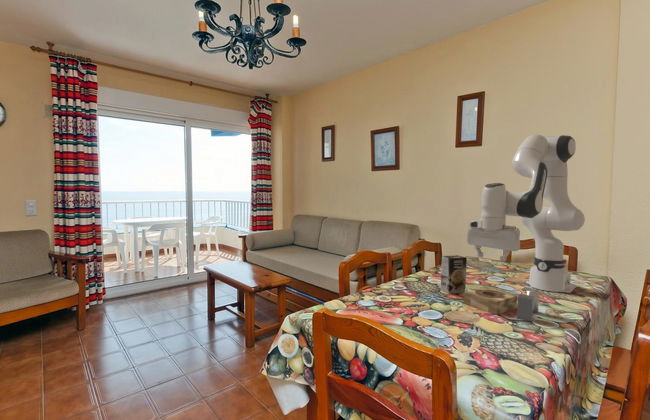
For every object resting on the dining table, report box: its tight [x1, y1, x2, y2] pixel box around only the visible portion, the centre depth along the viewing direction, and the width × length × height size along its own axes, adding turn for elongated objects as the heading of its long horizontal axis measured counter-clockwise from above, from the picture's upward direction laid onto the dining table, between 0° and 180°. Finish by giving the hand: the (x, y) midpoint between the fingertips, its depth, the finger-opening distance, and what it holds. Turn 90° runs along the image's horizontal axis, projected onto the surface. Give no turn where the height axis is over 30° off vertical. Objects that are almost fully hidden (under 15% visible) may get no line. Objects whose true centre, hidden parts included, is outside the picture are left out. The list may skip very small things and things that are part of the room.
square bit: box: [516, 293, 534, 323], centre depth 118 cm, size 4×4×8 cm
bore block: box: [462, 286, 518, 316], centre depth 130 cm, size 14×14×5 cm
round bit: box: [525, 289, 540, 315], centre depth 124 cm, size 4×4×8 cm
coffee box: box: [440, 255, 468, 295], centre depth 149 cm, size 9×6×16 cm
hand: (491, 258), depth 129 cm, fingers open, 8 cm apart
